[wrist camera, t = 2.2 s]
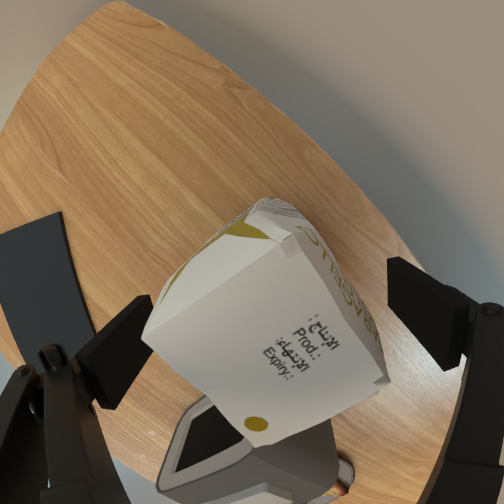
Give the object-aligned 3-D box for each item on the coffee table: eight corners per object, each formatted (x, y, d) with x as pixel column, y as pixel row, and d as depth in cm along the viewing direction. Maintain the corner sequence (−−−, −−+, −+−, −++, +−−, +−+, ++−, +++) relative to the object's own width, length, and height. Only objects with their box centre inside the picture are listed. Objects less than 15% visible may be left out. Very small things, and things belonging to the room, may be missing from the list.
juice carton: (277, 185, 26) (295, 189, 7) (329, 259, 27) (414, 387, 9) (212, 232, 27) (109, 327, 9) (265, 301, 29) (255, 463, 10)
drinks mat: (-15, 241, 30) (-17, 242, 29) (61, 211, 28) (58, 211, 27) (34, 375, 35) (32, 377, 35) (119, 386, 33) (118, 388, 33)
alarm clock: (268, 344, 30) (264, 463, 15) (334, 395, 31) (357, 499, 16) (181, 411, 33) (147, 504, 18) (244, 450, 35) (233, 538, 19)
